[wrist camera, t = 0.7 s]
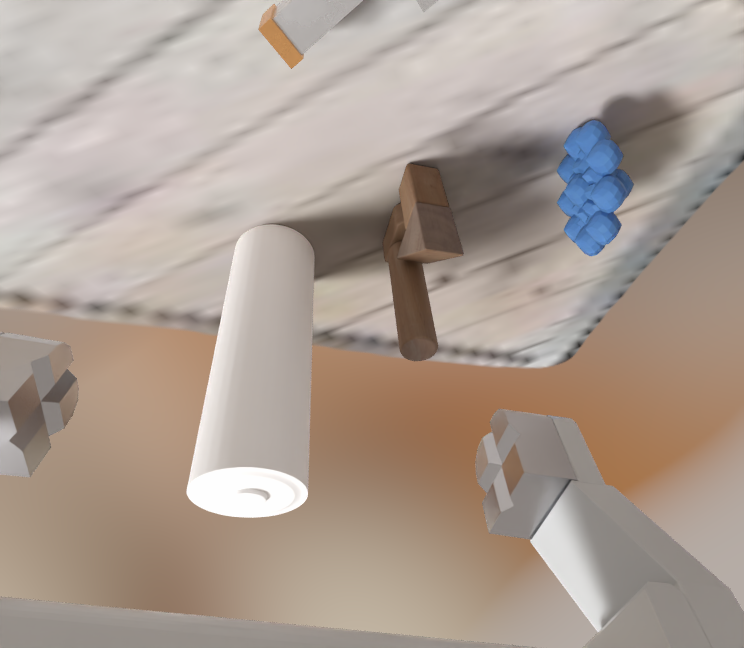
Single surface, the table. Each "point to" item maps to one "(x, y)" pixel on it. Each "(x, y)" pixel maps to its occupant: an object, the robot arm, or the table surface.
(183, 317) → the table surface
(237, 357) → the cylinder container
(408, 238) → the wooden hammer
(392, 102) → the table surface
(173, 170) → the table surface
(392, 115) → the table surface
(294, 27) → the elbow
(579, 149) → the grapes
